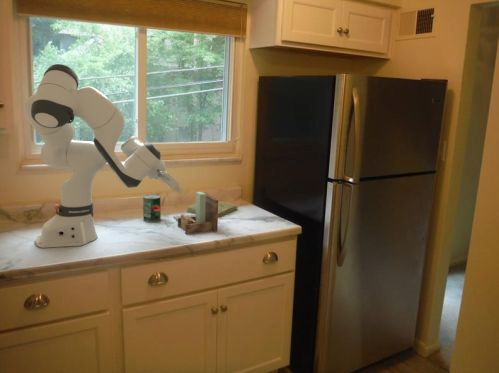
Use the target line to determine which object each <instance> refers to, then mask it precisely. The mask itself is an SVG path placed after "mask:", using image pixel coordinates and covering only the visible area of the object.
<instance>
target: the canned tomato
mask: <svg viewBox="0 0 499 373" xmlns="http://www.w3.org/2000/svg"><path fill="white" fill-rule="evenodd" d="M161 197H162V196H161V195H159V194H145V195H143V196H142V198H143V200H142V201H143V202H142V204H143V211H142V212H143V213H142V214H143V221H145V222H157V221H161V219H162V218H161V214H162V211H161V208H162V207H161V204H162V203H161Z"/></svg>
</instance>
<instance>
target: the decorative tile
mask: <svg viewBox="0 0 499 373" xmlns="http://www.w3.org/2000/svg"><path fill="white" fill-rule="evenodd" d="M237 209H238V206H237V205H236V204H234V203H230V202H227V201H226V202H225V201H221V200H220V201H219V200H218V218H220V217H223V216H224V215H227V214H230V213H232V212H235V211H236V210H237ZM186 213H188V214H191V215H196V203H193V204H191V205H189V206H187V209H186Z"/></svg>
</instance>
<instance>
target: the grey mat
mask: <svg viewBox="0 0 499 373" xmlns="http://www.w3.org/2000/svg"><path fill="white" fill-rule="evenodd" d="M184 215H185V216H187V217H193V216H196V214H187V215H186V214H184ZM178 218H181V215H176V216H173V219H174V220H175V221H177V222H178Z"/></svg>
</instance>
